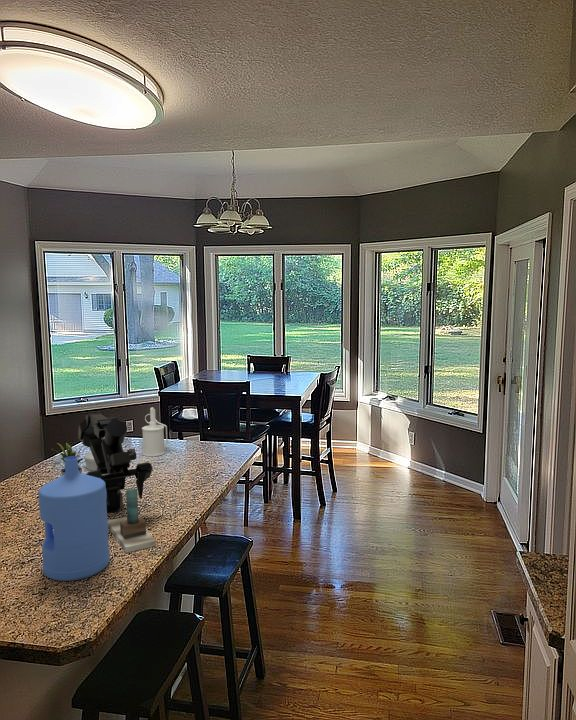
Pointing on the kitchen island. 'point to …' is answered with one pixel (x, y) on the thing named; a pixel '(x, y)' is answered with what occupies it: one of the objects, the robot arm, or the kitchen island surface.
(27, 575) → the kitchen island surface
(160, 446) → the white oil can
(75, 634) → the kitchen island surface
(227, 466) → the kitchen island surface
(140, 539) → the off-white shallow tray
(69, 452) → the house plant
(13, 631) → the kitchen island surface
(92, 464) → the ramekin
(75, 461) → the water jug
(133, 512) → the teal brown tall piece
